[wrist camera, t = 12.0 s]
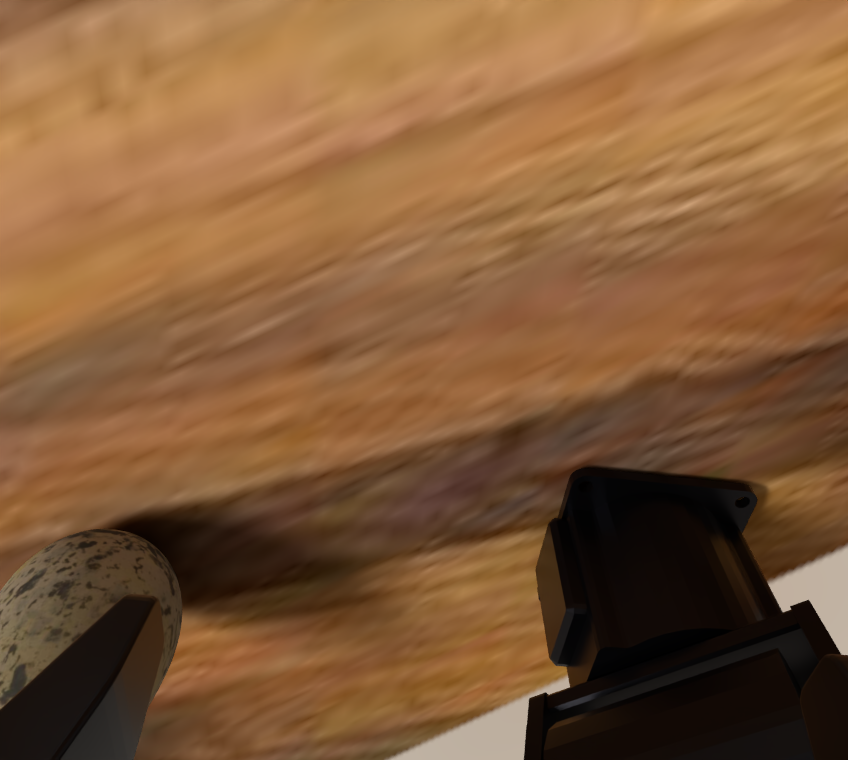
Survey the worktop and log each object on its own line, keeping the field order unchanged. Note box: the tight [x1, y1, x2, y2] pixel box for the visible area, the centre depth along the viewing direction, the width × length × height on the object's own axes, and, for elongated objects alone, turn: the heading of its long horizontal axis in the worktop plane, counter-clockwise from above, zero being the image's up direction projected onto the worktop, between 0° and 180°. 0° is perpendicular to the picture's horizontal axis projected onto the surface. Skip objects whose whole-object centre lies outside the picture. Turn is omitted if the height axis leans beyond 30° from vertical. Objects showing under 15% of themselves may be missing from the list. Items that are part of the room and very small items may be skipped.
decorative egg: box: [0, 529, 182, 709], centre depth 23 cm, size 6×6×10 cm
